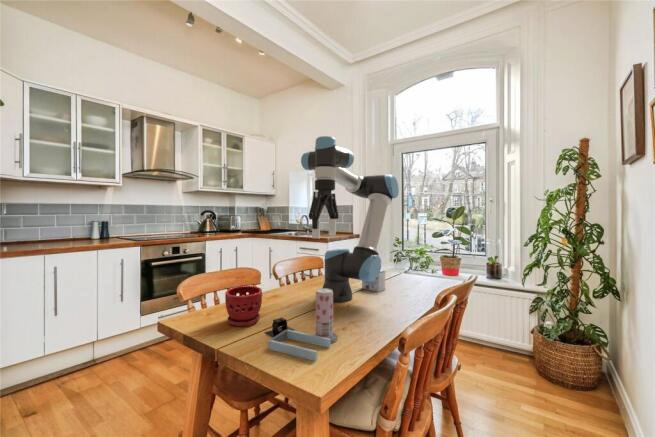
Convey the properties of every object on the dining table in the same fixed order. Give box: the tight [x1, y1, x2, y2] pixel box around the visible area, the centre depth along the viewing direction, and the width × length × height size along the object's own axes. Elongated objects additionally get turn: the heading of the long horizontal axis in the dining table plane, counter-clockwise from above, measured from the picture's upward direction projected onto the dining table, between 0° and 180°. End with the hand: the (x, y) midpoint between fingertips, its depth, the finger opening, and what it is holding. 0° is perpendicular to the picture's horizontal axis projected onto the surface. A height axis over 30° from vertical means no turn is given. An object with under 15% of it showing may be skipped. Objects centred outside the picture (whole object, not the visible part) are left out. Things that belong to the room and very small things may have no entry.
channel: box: [267, 329, 331, 362], centre depth 89 cm, size 10×16×2 cm, turn 64°
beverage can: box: [314, 287, 334, 339], centre depth 96 cm, size 6×6×15 cm
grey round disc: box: [313, 332, 339, 344], centre depth 96 cm, size 8×8×1 cm
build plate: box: [263, 317, 296, 339], centre depth 102 cm, size 12×7×5 cm, turn 134°
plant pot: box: [224, 285, 263, 327], centre depth 109 cm, size 13×13×12 cm
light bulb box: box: [361, 268, 386, 293], centre depth 158 cm, size 11×7×11 cm, turn 50°
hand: (324, 236), depth 110 cm, fingers open, 13 cm apart
